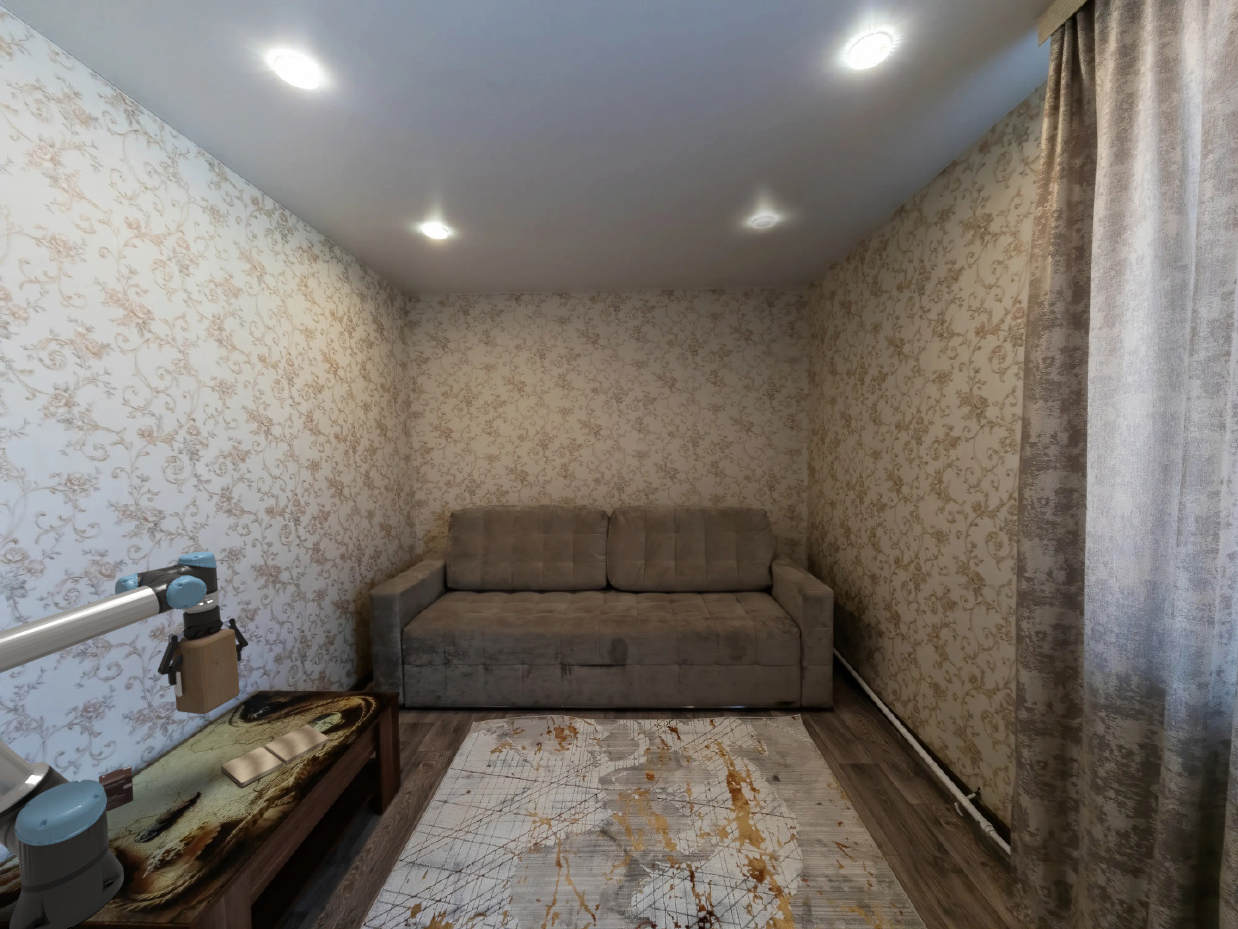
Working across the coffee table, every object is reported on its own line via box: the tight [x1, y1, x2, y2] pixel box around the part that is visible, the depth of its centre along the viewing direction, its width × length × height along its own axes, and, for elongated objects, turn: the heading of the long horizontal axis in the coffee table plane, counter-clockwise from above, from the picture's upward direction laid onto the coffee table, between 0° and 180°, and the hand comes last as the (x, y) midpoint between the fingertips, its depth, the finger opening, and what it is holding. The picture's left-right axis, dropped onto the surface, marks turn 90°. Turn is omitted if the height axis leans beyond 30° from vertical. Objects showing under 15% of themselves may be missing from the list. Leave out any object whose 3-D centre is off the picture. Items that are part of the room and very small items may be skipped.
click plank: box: [220, 746, 284, 788], centre depth 134 cm, size 10×14×1 cm
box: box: [98, 765, 134, 812], centre depth 122 cm, size 6×6×7 cm
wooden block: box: [171, 628, 240, 715], centre depth 127 cm, size 10×10×20 cm
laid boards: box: [264, 724, 330, 765], centre depth 145 cm, size 12×14×1 cm
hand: (207, 683), depth 128 cm, fingers closed on wooden block, 12 cm apart
